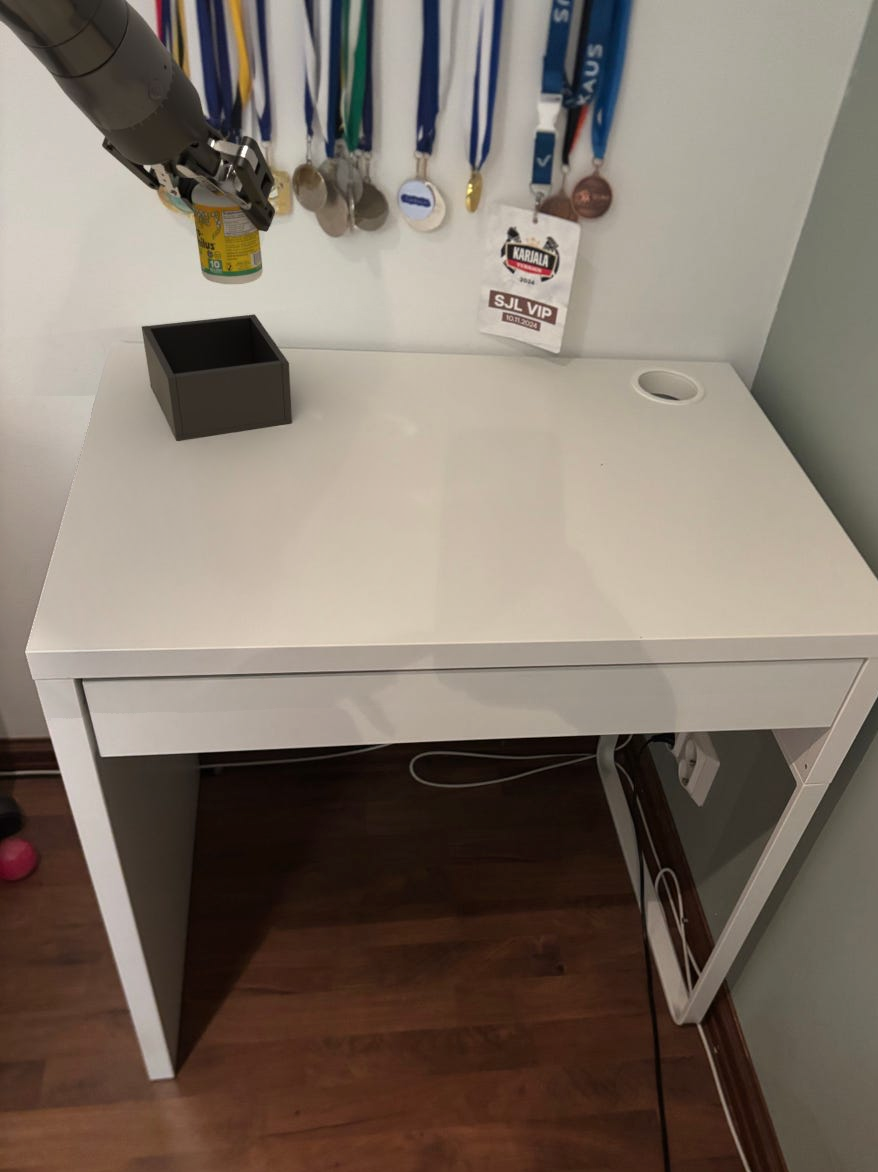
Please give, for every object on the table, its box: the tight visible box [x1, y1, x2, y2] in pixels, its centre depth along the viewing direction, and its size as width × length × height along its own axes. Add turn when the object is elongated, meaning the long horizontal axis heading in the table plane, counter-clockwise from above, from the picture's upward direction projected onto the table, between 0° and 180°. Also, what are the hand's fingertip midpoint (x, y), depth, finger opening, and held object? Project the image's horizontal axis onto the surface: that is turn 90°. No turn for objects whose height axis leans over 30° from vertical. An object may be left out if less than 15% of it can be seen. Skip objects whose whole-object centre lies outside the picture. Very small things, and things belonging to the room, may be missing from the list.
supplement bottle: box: [192, 160, 263, 285], centre depth 83 cm, size 5×5×10 cm
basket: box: [141, 313, 293, 441], centre depth 95 cm, size 11×11×6 cm
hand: (237, 216), depth 84 cm, fingers closed on supplement bottle, 5 cm apart
